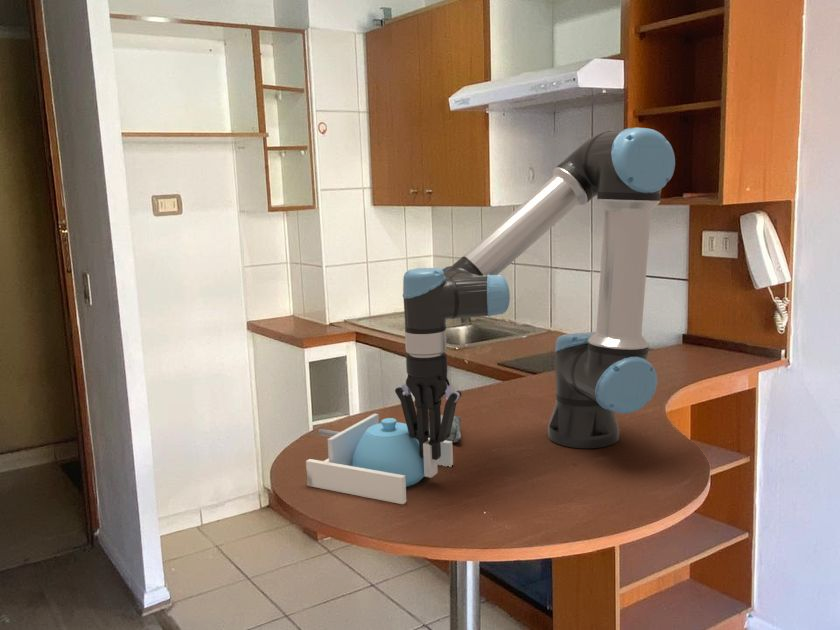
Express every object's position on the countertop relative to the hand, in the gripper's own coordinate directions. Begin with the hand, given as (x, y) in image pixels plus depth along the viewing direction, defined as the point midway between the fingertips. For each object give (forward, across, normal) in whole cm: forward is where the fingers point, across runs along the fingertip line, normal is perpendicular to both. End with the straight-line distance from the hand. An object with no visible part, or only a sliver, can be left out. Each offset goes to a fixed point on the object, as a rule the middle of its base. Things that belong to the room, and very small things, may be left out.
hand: (431, 474), depth 146 cm
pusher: (+2, +21, 0) cm, 21 cm away
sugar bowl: (+2, +9, 0) cm, 9 cm away
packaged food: (+2, +10, -24) cm, 26 cm away
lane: (+2, +11, 0) cm, 11 cm away
